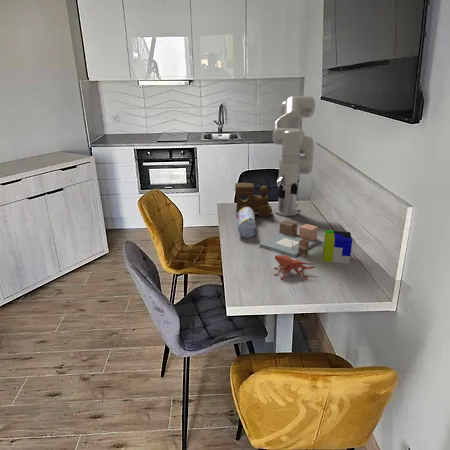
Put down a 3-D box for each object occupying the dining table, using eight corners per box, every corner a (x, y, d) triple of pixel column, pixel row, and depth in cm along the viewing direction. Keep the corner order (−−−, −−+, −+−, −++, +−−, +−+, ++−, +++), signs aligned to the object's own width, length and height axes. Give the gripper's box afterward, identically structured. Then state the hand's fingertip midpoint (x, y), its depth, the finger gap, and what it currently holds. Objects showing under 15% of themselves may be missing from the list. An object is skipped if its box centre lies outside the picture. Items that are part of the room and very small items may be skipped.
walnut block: (285, 231, 194) (286, 219, 192) (296, 234, 190) (297, 222, 188) (279, 234, 190) (280, 222, 188) (290, 237, 186) (291, 225, 184)
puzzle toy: (349, 264, 160) (352, 240, 157) (323, 261, 162) (326, 238, 158) (347, 254, 169) (350, 232, 166) (323, 251, 171) (325, 230, 168)
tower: (301, 252, 170) (302, 239, 168) (307, 254, 168) (309, 240, 166) (298, 254, 168) (299, 241, 166) (304, 256, 166) (305, 242, 164)
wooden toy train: (234, 217, 212) (235, 187, 207) (234, 211, 223) (235, 182, 217) (272, 218, 212) (273, 188, 206) (270, 211, 223) (271, 182, 217)
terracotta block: (305, 235, 189) (306, 223, 187) (316, 238, 185) (317, 226, 183) (298, 239, 184) (299, 227, 182) (310, 242, 181) (311, 230, 179)
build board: (281, 234, 189) (281, 232, 189) (315, 244, 178) (315, 241, 178) (259, 246, 176) (259, 243, 176) (294, 257, 165) (295, 254, 165)
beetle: (273, 279, 147) (275, 248, 142) (273, 265, 158) (275, 235, 154) (315, 282, 145) (318, 250, 141) (312, 267, 157) (315, 237, 152)
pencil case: (256, 238, 185) (257, 219, 181) (237, 238, 185) (238, 219, 181) (254, 223, 204) (254, 205, 201) (237, 223, 204) (237, 205, 201)
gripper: (293, 155, 186) (291, 191, 192) (271, 160, 174) (269, 198, 180) (307, 157, 181) (304, 194, 187) (286, 162, 169) (283, 201, 175)
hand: (287, 196), depth 183 cm, fingers open, 9 cm apart
